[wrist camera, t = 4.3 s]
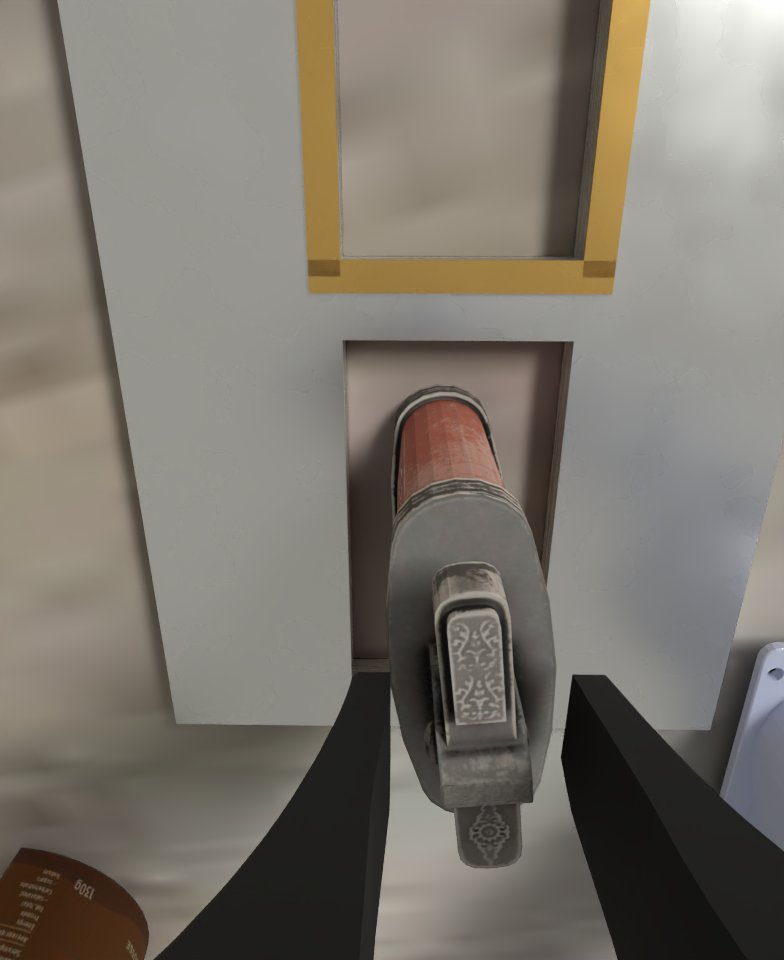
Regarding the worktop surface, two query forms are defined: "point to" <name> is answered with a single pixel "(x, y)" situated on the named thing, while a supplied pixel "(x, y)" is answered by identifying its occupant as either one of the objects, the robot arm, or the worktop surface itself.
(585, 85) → the worktop surface
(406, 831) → the worktop surface
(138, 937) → the food container
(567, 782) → the robot arm
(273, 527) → the rail plate
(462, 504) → the lighter
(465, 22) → the worktop surface
